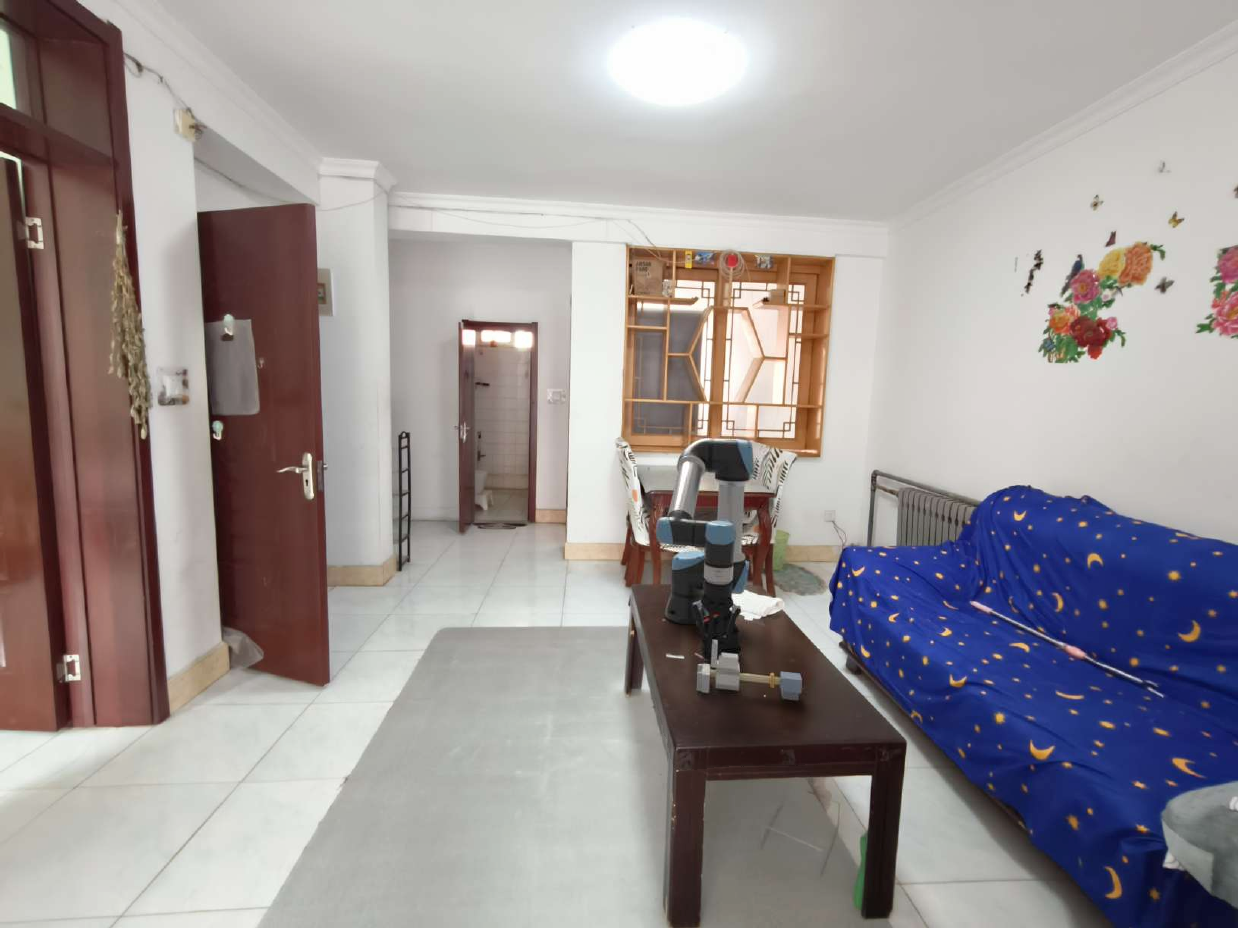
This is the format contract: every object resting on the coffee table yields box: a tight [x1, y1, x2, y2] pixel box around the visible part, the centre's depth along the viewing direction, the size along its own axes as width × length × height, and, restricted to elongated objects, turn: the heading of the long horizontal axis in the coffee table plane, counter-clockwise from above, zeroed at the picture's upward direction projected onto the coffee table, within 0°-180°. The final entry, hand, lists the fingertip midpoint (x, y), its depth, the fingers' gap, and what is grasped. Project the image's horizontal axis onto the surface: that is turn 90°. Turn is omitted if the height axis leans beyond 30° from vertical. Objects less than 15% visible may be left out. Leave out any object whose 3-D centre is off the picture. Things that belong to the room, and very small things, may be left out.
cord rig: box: [696, 663, 803, 702], centre depth 144 cm, size 6×27×6 cm, turn 80°
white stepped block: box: [715, 653, 741, 691], centre depth 145 cm, size 5×6×8 cm
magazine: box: [695, 609, 742, 659], centre depth 164 cm, size 4×13×15 cm, turn 92°
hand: (713, 664), depth 146 cm, fingers closed
